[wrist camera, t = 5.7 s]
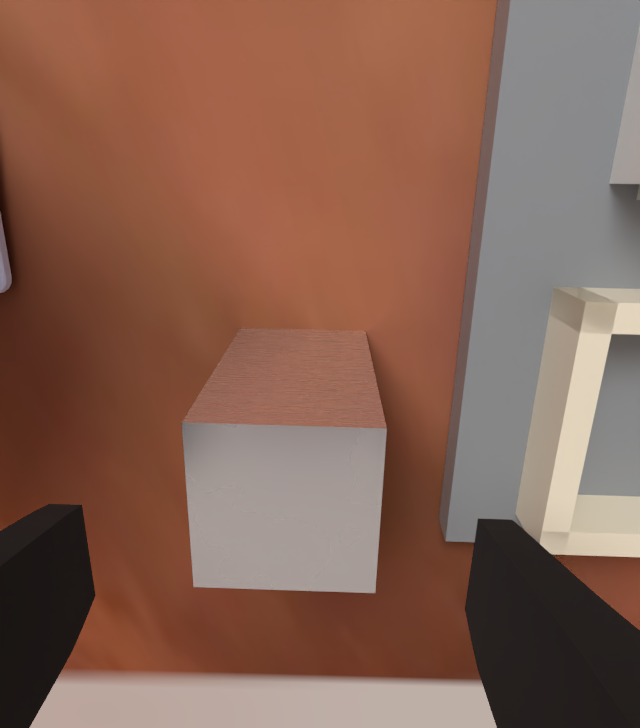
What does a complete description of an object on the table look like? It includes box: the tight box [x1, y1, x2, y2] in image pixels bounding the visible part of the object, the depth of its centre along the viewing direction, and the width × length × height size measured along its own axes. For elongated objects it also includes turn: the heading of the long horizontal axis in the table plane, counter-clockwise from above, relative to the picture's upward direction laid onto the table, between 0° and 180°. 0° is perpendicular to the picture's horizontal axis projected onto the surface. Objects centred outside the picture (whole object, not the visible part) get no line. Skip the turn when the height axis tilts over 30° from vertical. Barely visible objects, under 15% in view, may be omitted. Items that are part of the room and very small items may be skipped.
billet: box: [182, 328, 387, 593], centre depth 14 cm, size 4×4×7 cm
